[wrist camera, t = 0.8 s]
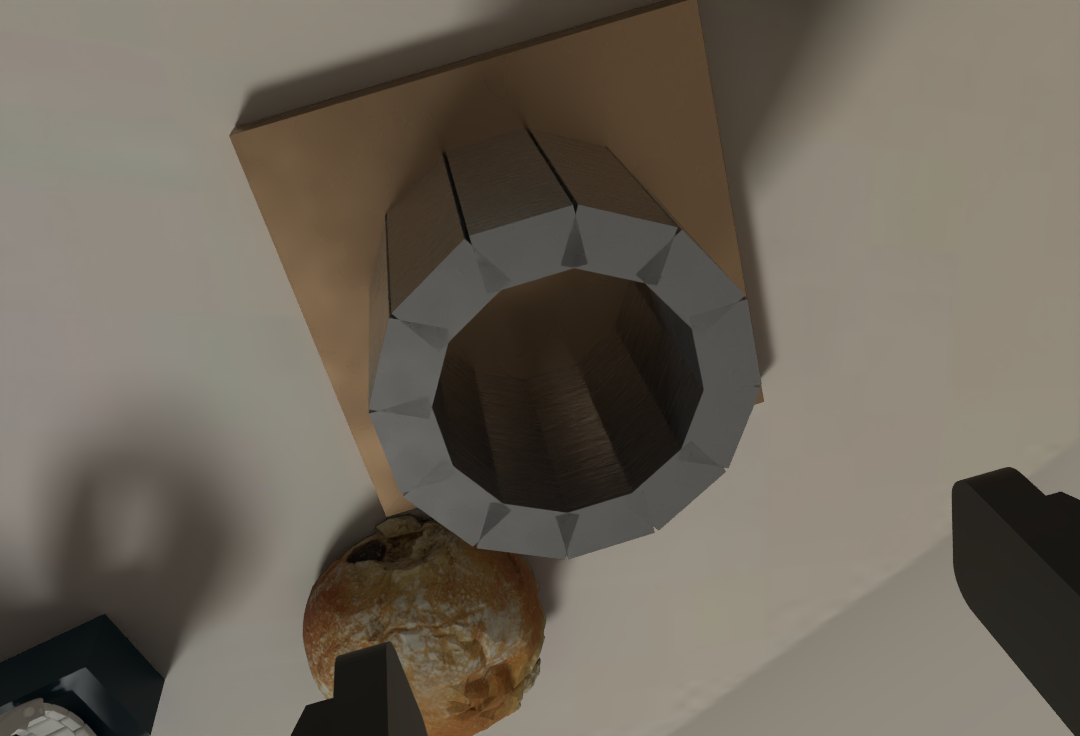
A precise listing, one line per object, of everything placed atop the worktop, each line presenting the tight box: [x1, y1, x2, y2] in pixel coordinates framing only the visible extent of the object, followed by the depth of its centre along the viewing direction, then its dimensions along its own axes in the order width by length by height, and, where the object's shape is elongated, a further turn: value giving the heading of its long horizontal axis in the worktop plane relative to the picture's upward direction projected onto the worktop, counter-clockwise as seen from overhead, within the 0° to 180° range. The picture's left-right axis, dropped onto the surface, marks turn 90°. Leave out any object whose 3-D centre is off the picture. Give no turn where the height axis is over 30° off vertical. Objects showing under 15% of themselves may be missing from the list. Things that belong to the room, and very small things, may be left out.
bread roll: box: [303, 514, 546, 736], centre depth 41 cm, size 10×10×8 cm
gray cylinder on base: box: [229, 0, 764, 560], centre depth 32 cm, size 16×16×10 cm
